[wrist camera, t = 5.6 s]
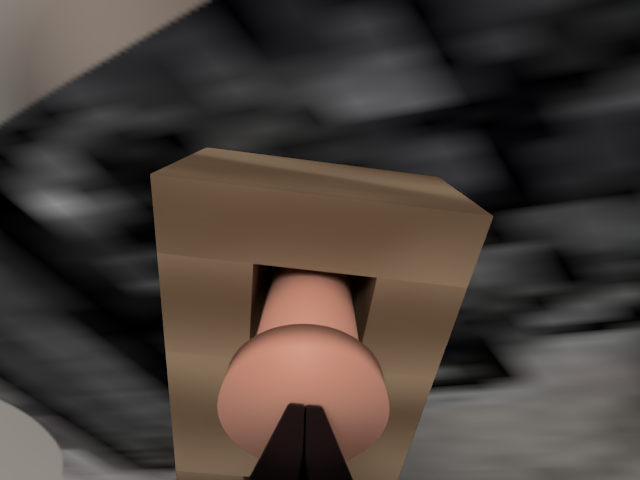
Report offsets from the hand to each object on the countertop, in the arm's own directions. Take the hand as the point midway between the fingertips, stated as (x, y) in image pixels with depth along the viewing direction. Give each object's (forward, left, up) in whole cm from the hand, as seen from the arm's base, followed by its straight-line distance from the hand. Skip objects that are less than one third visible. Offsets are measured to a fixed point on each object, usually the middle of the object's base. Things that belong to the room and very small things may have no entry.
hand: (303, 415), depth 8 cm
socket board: (-5, 0, -9) cm, 10 cm away
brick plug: (0, 0, -6) cm, 6 cm away
